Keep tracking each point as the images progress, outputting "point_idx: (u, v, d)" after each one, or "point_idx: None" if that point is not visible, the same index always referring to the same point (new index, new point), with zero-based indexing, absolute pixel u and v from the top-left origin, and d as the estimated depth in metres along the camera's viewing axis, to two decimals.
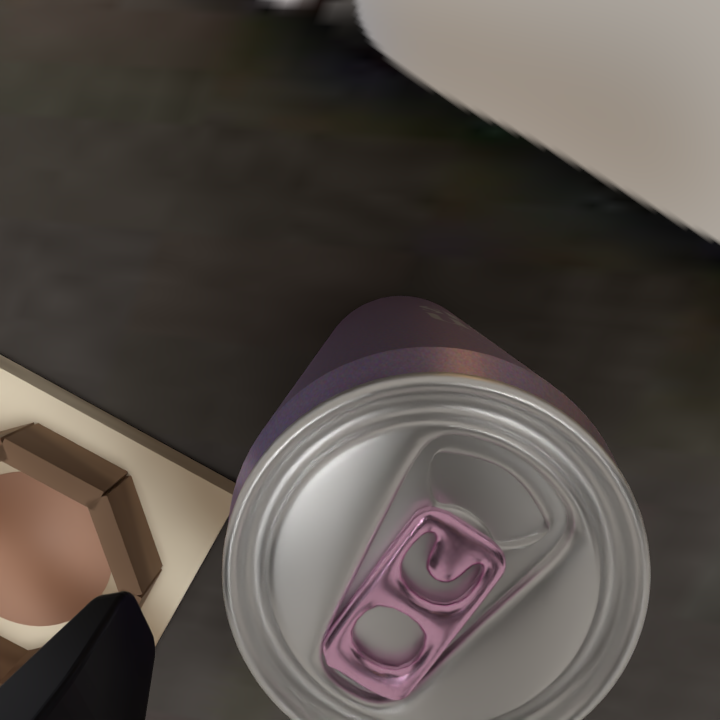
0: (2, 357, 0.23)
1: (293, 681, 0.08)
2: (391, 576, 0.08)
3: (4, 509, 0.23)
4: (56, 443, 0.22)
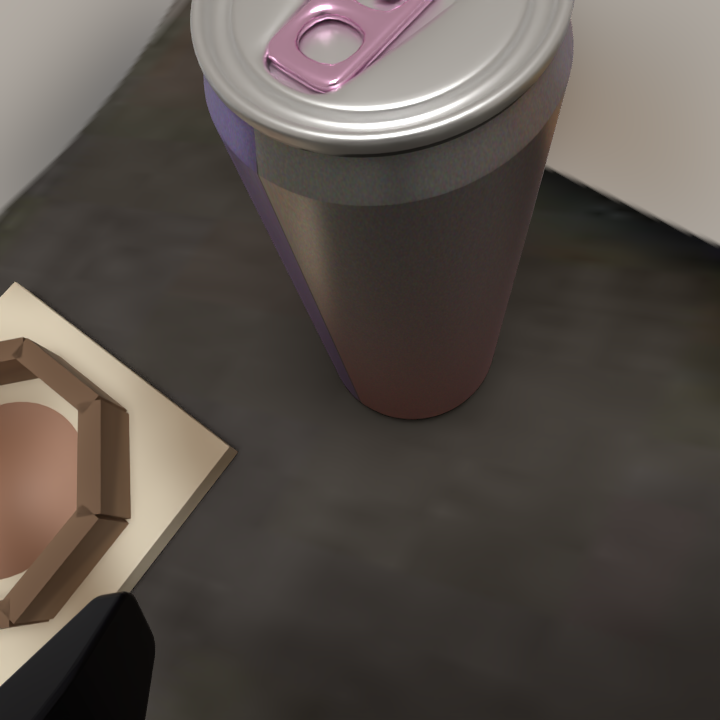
0: (51, 308, 0.25)
1: (234, 83, 0.09)
2: None
3: None
4: (70, 367, 0.22)
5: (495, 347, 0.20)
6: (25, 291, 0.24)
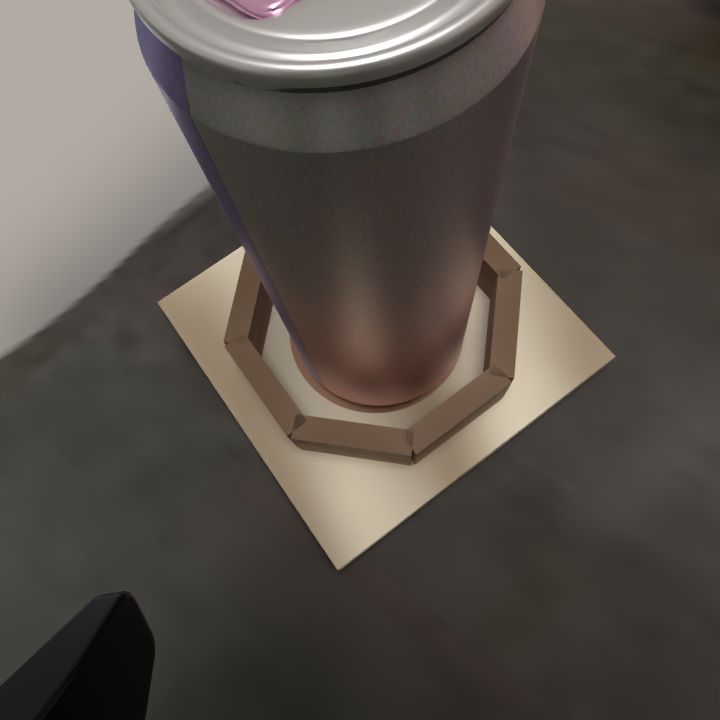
0: None
1: (161, 6, 0.07)
2: None
3: None
4: None
5: (464, 332, 0.19)
6: None
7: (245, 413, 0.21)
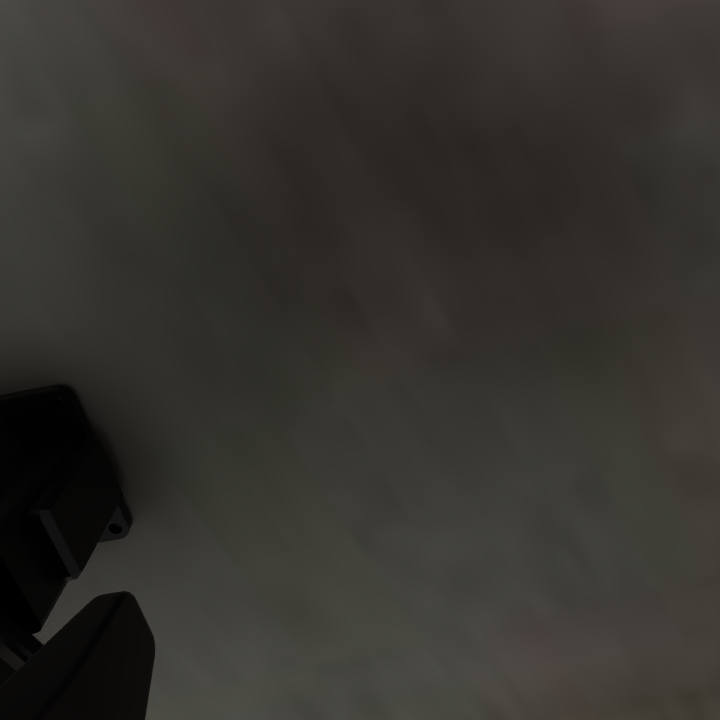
0: None
1: None
2: None
3: None
4: None
5: None
6: None
7: None
